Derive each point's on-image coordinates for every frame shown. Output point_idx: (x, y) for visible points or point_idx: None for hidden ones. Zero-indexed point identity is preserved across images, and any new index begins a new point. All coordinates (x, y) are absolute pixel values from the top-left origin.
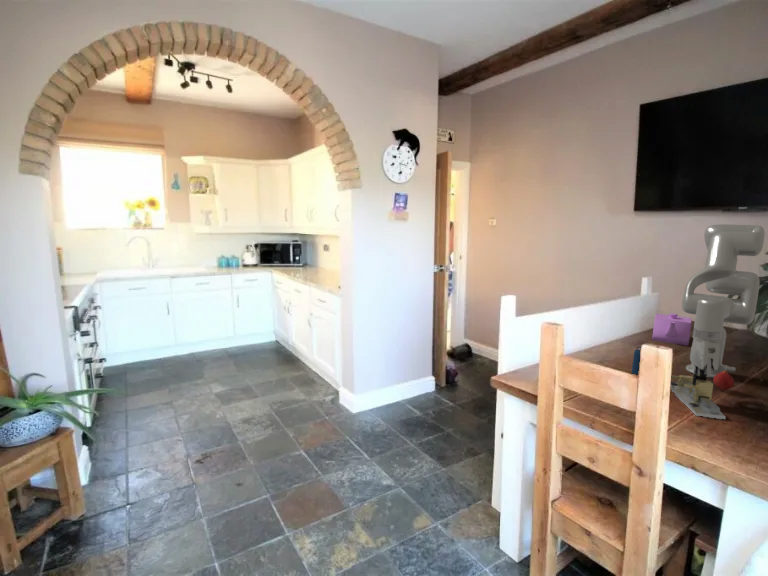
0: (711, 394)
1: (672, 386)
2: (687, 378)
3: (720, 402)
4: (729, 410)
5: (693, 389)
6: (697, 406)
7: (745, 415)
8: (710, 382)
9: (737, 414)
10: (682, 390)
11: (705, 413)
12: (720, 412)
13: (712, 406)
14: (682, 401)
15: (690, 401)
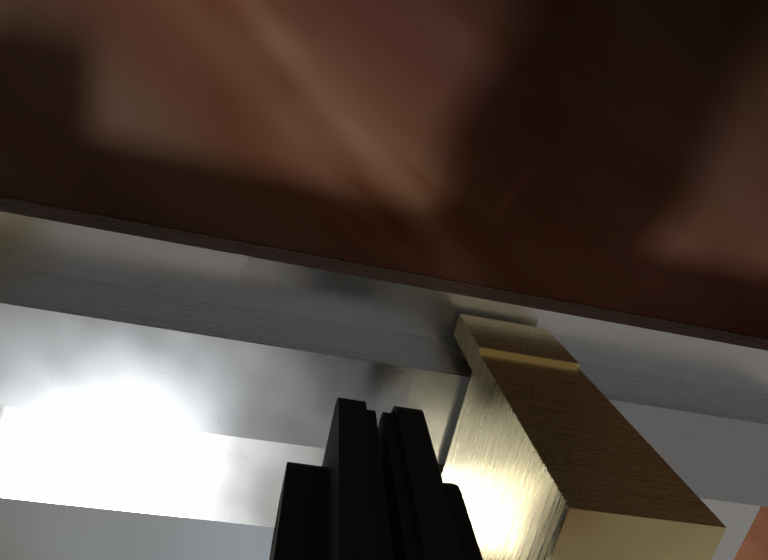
0: (596, 392)
1: (47, 486)
2: None
3: (386, 79)
4: (611, 135)
5: (287, 428)
6: None
7: (744, 27)
8: (661, 553)
9: (711, 114)
10: (163, 431)
11: (753, 509)
12: (754, 358)
13: None
14: None
15: None
